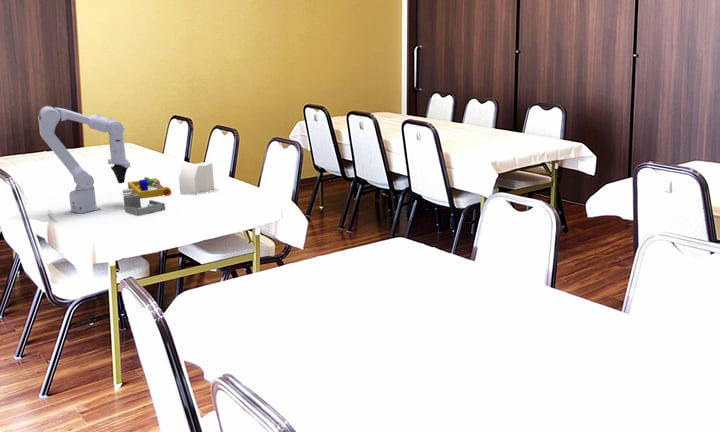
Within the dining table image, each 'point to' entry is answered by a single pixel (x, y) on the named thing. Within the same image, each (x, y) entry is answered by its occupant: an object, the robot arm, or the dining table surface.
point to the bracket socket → (146, 208)
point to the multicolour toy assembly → (142, 188)
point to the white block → (196, 178)
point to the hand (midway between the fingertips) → (121, 182)
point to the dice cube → (132, 200)
